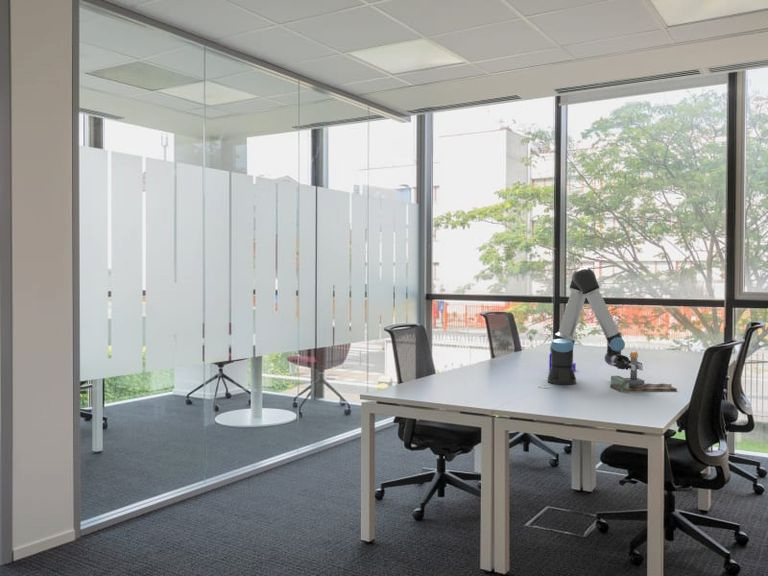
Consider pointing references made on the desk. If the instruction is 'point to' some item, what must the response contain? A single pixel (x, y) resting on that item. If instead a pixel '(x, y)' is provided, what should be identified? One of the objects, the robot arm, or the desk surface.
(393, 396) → the desk surface
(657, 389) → the track bed
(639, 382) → the lever
